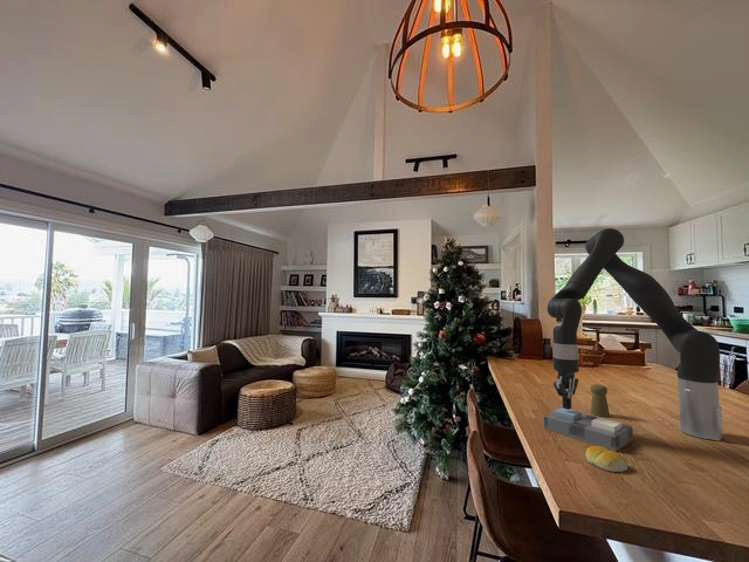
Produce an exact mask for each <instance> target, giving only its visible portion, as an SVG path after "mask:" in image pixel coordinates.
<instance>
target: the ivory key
mask: <svg viewBox="0 0 749 562" xmlns="http://www.w3.org/2000/svg"><path fill="white" fill-rule="evenodd" d="M597 417H598V416H597ZM622 424H623V422H620V421H616V420H612V419H609V418H606V417H598V418H596V419H594V420H592V421H591V426H592V427H596V428H599V429H603V430H606V431H610V432H613V433H616V432H618V431H620V430H621V429H622Z"/></svg>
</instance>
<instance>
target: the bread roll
mask: <svg viewBox="0 0 749 562" xmlns="http://www.w3.org/2000/svg"><path fill="white" fill-rule="evenodd" d="M585 459H586V461H587V462H588V463H589V464H591V465H593V466H595V467H597V468H598V469H601V470H604V471H607V472H611V473H618V472H619V473H621V472H626V471H627V470H628V468H629V467H628V465H629V464H628V461H627V460H626V458H625V457H624V456H622V455H621V454H620V453H618V451H616V452H615V451H612V450H609V449H607V448H605V447H602V446H596V445H592V446H590V447H588V448H587V449H586V450H585Z"/></svg>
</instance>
